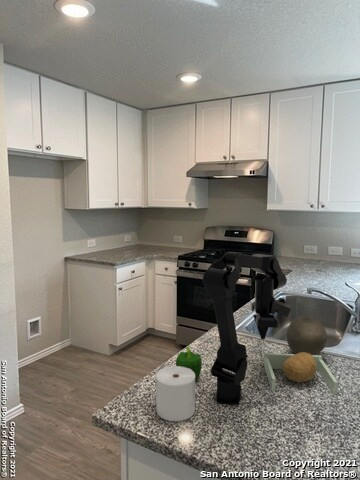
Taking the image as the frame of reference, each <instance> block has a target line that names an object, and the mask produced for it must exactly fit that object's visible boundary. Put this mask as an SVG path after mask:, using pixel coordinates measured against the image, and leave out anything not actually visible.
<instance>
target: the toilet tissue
mask: <svg viewBox="0 0 360 480" xmlns="http://www.w3.org/2000/svg"><path fill="white" fill-rule="evenodd" d="M155 380H156V381H155V382H156V383H155V393H156V395H155V398H156V403H155V407H156V408H155V409H156V413H157V415H158V416H159V417H160V418H161V419H164V420H165V421H169V422H182V421H183V422H184V421H186V420H188V419H190V418H191V417H192V416H193V415H194V414H195V411H196V381H195V373H194V372H193V371H192V370H191V369H189V368H185V367H180V366H176V365H175V366H172V365H171V366H167V367H165V363H164V362H163V363H162V364H161V365H160V366H159V367H158V369H157V371H156V377H155Z"/></svg>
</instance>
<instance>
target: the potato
mask: <svg viewBox="0 0 360 480" xmlns="http://www.w3.org/2000/svg"><path fill="white" fill-rule="evenodd" d="M281 370H282V372H283V374H284V376H286V378H287V379H288V380H290V381H292V382H296V383H304V382H307V381H310V380H312V379H314V376H315V374H316V373H317V372H318V371H317V369H316V361H315V359H314V357H313V356H312V355H311V354H309V353H305V352H301V353H298V354H295V355H292V356H290V357H289V358H287V359H286V360H285V361H284V363H283V365H282V369H281Z"/></svg>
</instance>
